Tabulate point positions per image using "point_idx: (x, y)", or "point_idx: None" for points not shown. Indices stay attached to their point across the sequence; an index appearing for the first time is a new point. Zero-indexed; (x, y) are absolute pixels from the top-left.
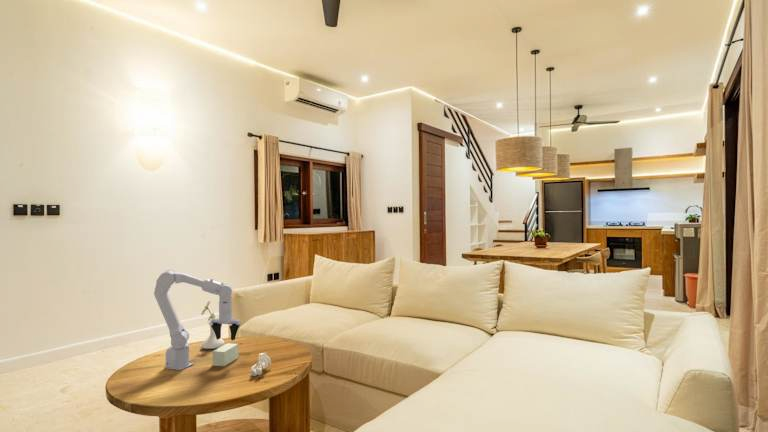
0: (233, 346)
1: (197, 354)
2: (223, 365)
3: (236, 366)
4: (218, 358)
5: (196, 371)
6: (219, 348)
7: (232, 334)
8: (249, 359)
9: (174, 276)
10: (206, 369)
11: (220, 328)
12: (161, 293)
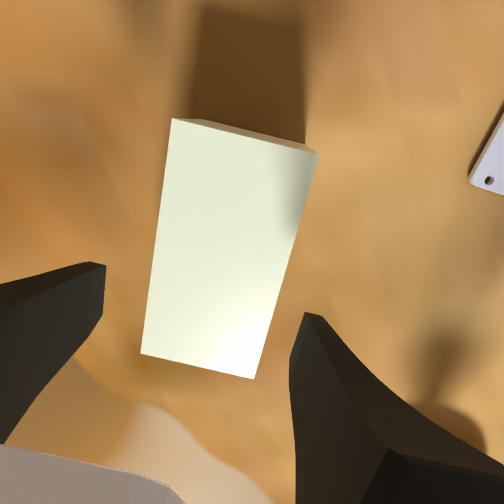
0: (152, 289)
1: (482, 372)
2: (210, 121)
3: (109, 114)
4: (250, 133)
5: (400, 3)
6: (272, 240)
7: (18, 283)
8: (83, 255)
9: None
10: (327, 53)
11: (301, 490)
12: None
